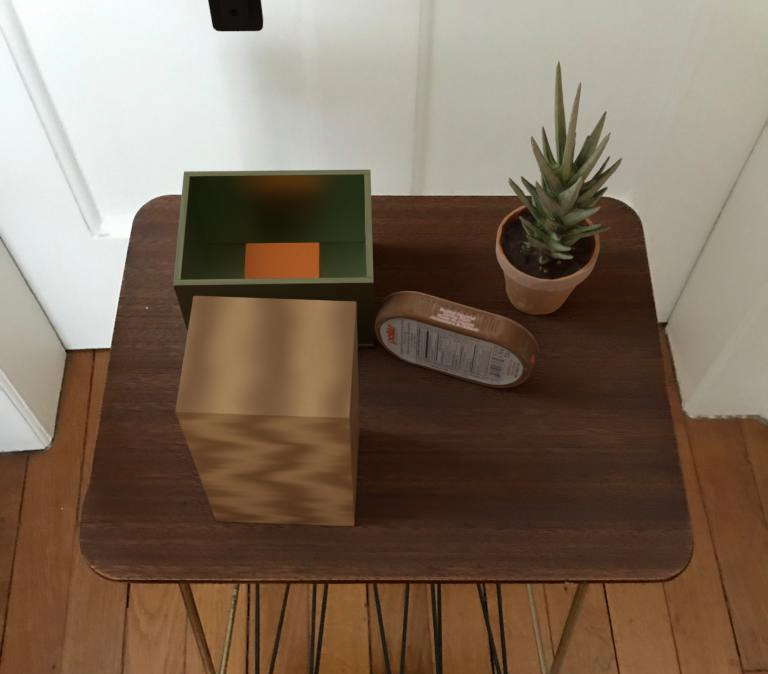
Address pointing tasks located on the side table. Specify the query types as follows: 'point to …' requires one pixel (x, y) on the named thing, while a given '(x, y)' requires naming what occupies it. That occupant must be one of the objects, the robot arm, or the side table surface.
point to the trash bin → (277, 236)
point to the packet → (282, 260)
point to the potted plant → (555, 218)
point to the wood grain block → (273, 408)
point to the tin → (456, 339)
